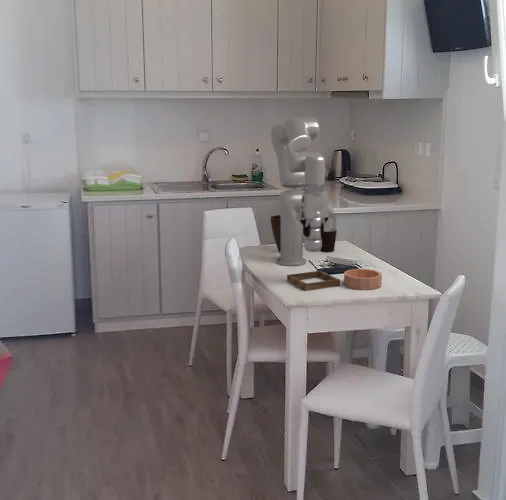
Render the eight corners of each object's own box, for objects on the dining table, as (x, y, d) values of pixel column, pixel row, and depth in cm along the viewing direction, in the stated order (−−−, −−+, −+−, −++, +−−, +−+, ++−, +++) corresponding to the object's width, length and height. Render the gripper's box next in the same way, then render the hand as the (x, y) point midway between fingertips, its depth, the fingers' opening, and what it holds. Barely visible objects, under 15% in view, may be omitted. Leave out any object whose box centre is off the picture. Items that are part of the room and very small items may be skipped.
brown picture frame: (287, 281, 274) (287, 274, 274) (320, 276, 281) (320, 270, 280) (305, 290, 261) (305, 284, 261) (340, 285, 267) (340, 279, 267)
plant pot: (265, 249, 328) (265, 215, 325) (294, 246, 334) (294, 213, 330) (278, 256, 315) (278, 221, 311) (308, 253, 320) (308, 218, 316)
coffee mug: (337, 252, 321) (337, 231, 318) (318, 252, 321) (318, 231, 318) (334, 247, 332) (335, 226, 330) (316, 247, 332) (316, 226, 330)
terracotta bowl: (337, 282, 272) (337, 271, 271) (367, 278, 278) (367, 267, 277) (357, 291, 259) (357, 280, 258) (388, 287, 265) (388, 275, 264)
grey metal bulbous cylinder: (303, 249, 271) (303, 198, 266) (320, 249, 272) (321, 198, 267) (305, 253, 265) (306, 201, 260) (323, 253, 266) (324, 201, 261)
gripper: (299, 191, 256) (298, 239, 260) (339, 188, 263) (337, 235, 267) (289, 188, 262) (289, 235, 267) (329, 185, 269) (327, 231, 274)
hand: (313, 234), depth 267 cm, fingers closed on grey metal bulbous cylinder, 5 cm apart
